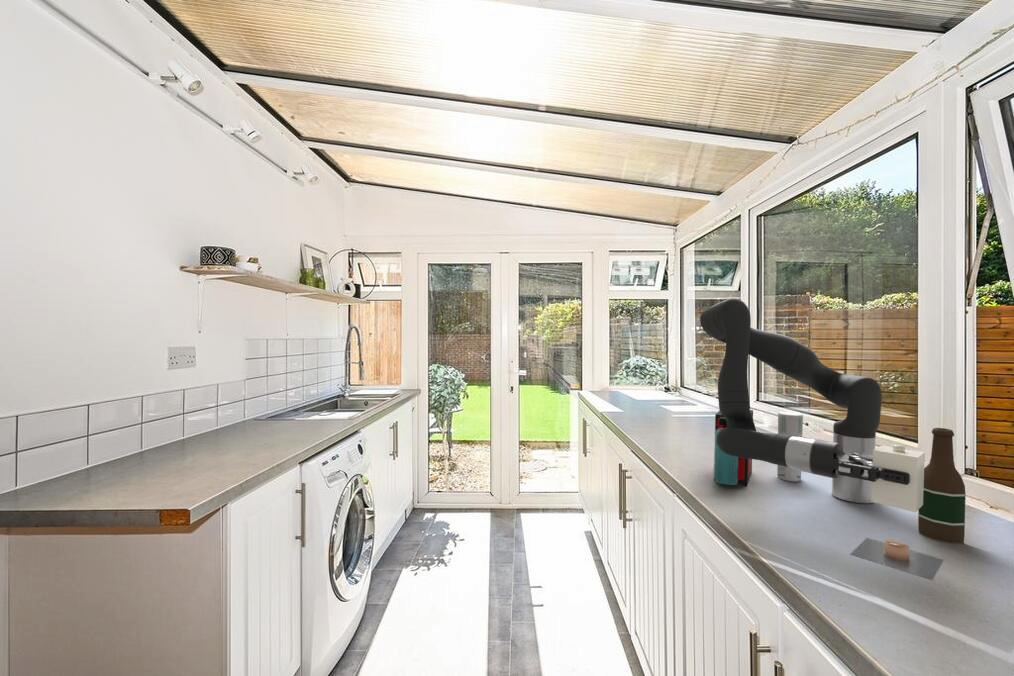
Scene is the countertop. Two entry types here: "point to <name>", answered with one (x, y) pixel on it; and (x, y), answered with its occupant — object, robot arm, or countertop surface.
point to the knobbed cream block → (895, 492)
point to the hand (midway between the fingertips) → (913, 475)
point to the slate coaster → (915, 565)
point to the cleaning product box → (744, 463)
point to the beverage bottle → (724, 462)
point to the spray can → (791, 427)
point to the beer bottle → (942, 493)
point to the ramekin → (896, 550)
